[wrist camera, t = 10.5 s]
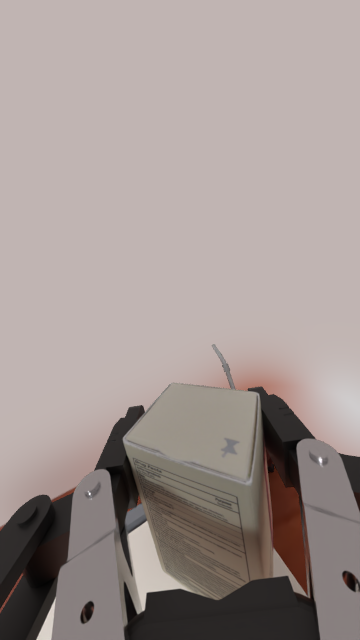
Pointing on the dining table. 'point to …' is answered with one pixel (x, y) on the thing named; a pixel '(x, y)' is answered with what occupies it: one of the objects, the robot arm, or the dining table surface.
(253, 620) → the robot arm
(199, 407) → the small box
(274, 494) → the dining table surface
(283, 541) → the dining table surface
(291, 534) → the dining table surface
